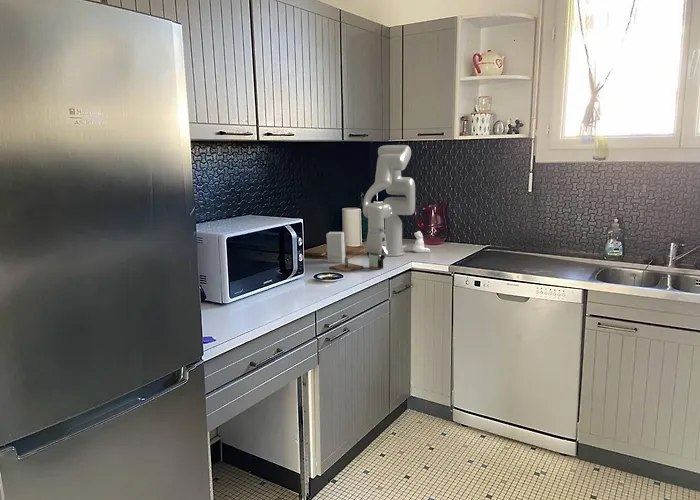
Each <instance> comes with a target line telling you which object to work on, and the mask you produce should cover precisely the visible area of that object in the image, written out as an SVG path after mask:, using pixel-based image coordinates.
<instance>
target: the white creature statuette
mask: <svg viewBox="0 0 700 500" xmlns="http://www.w3.org/2000/svg"><path fill="white" fill-rule="evenodd" d="M414 237H415V238H416V240H415V243H414V245H413V247H412V250H413V252H414V253H418V254H421V253H424V254H425V253H426V254H429V253H431V249H430V248H428V247H425V242H424V236H423V233H422V232H421V231H420V230H418V231H417V232H414Z"/></svg>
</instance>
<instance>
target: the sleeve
mask: <svg viewBox="0 0 700 500" xmlns="http://www.w3.org/2000/svg"><path fill="white" fill-rule="evenodd" d="M378 260H379V258H378V254H369V258H368V265H369V266H368V268H369V269H371V270H375V271H378V270H381V269H384V266H383V267H382V268H378Z"/></svg>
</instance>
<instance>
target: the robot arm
mask: <svg viewBox="0 0 700 500" xmlns="http://www.w3.org/2000/svg"><path fill="white" fill-rule="evenodd" d="M377 149H378V150H377V154H378V155H377V156H378V157H377V162H376V171H375V179H374V183H373V184H372V185H371V186H370V187H369V189H368V190H367V191H366V193H365V195H364V198H363V204H362V205H363V206H362V212H363V216H364V217H365V218H368V219H367V225H368V227H367V231H368V232H367V235H366V247H365V249H364V252H365V254H366V255H367V256H368V257H367V258H368V259H369V254H378V258H379V260H378V268H382V267H384V260H385V258H387V257H399V256H404V255H405V254H406V252H405V251H404V250H405V249H406V250H407V249H408V245H403V222H402V219H401V218H400V217H399V216H401V215H402V216H412V215H413V214H415V211H416V184H415V183H416V182H415V180H414V179H413V178H412V177H410V176H409V177H408V176H407V177H405V176H402V171H404V170H405V169H406V168H407V165H408V164H409V161H410V159H411V156H412V149H411V147H410V146H409V145H408V144H407V145H406V144H396V145H395V144H392V145H391V144H390V145H389V144H386V145H382V146H381V145H380V147H378V148H377ZM383 190H385V191H386V193H387V194H388V195H392V196H390V197H385V199H384V200H383V202H381V203H380V202H371V201H372V199H373V197H374V196H376V194H378V193H380V192H382V191H383ZM394 195H395V197H394ZM399 196H400V197H399ZM401 196H402V197H401ZM403 196H404V197H403ZM382 269H383V268H382Z"/></svg>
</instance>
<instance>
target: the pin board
mask: <svg viewBox="0 0 700 500" xmlns="http://www.w3.org/2000/svg"><path fill="white" fill-rule="evenodd" d="M364 267H365V266H364V265H360V264H355V263H352V262H351V263H350V262H349V257H347V256H345V261H344V262H343V263H338V264H335V265H331V266H329V267H328V268H329V269H330V270H334V271H338V272H343V273H349V272H350V273H351V272H353V271H357V270H362V269H364Z"/></svg>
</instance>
